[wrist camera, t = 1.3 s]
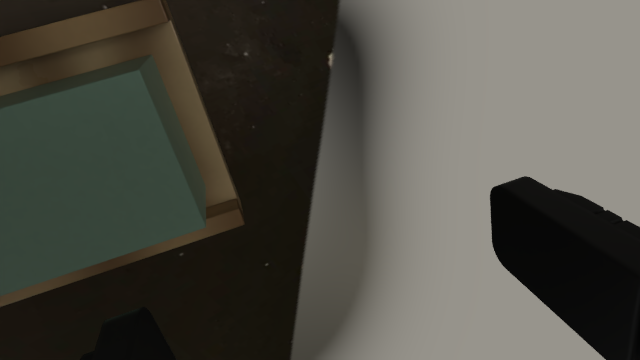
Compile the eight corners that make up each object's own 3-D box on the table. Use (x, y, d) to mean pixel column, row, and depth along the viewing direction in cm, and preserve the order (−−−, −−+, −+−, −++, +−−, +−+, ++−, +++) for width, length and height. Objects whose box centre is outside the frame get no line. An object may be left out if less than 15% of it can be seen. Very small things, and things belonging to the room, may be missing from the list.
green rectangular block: (17, 247, 24) (-25, 305, 19) (-74, 116, 20) (-151, 150, 16) (206, 186, 25) (206, 227, 21) (152, 53, 22) (138, 69, 17)
